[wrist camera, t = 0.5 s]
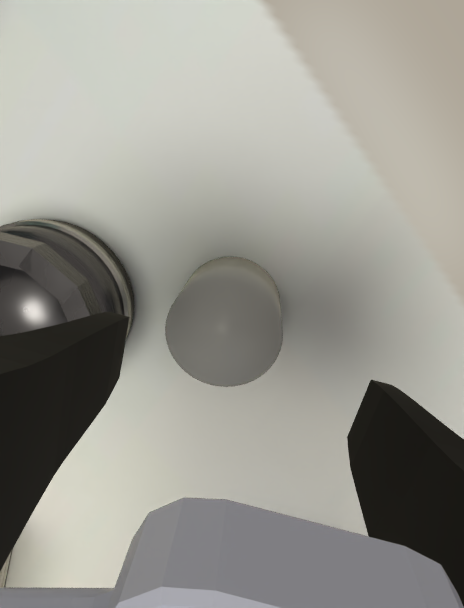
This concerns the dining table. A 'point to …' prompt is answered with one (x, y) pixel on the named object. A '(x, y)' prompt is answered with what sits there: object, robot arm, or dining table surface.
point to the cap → (226, 323)
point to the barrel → (57, 276)
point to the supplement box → (4, 572)
